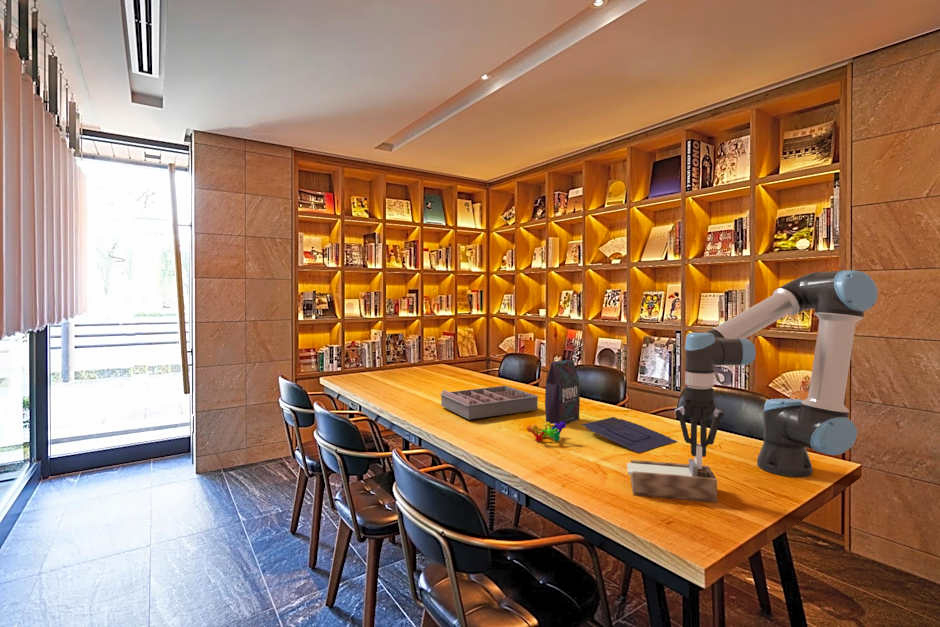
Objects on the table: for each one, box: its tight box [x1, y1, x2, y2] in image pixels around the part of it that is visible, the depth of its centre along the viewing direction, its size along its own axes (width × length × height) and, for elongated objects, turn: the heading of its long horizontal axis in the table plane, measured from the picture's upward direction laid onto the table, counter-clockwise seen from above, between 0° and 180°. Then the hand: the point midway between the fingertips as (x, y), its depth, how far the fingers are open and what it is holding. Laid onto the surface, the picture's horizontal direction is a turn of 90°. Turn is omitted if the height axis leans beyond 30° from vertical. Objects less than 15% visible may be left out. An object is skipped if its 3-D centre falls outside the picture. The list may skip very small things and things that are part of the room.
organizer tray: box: [439, 385, 540, 420], centre depth 241 cm, size 32×40×10 cm
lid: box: [626, 458, 698, 477], centre depth 141 cm, size 19×8×4 cm, turn 75°
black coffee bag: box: [544, 358, 581, 425], centre depth 217 cm, size 8×16×28 cm, turn 133°
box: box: [630, 459, 718, 504], centre depth 140 cm, size 22×11×6 cm, turn 75°
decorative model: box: [526, 421, 567, 443], centre depth 190 cm, size 13×9×15 cm
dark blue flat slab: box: [580, 416, 678, 454], centre depth 192 cm, size 24×30×4 cm
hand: (698, 467), depth 138 cm, fingers closed
